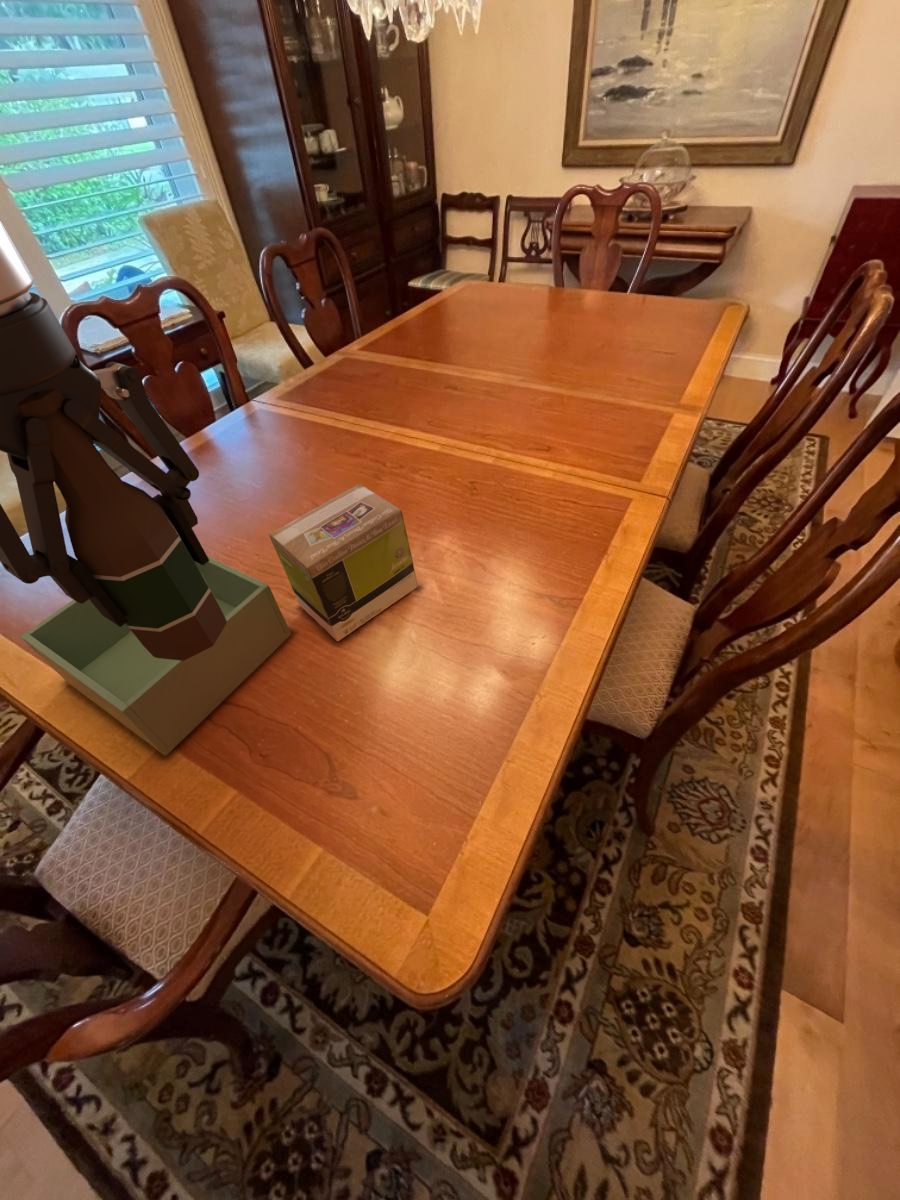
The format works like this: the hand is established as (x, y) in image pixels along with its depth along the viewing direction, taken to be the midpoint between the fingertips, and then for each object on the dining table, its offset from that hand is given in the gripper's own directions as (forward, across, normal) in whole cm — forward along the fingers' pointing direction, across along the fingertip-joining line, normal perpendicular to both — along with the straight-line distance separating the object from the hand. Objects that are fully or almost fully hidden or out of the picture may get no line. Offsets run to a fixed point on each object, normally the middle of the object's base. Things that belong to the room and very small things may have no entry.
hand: (157, 586), depth 47 cm
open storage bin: (+25, +3, +18) cm, 31 cm away
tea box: (+25, +24, +3) cm, 35 cm away
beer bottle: (+6, 0, 0) cm, 6 cm away
